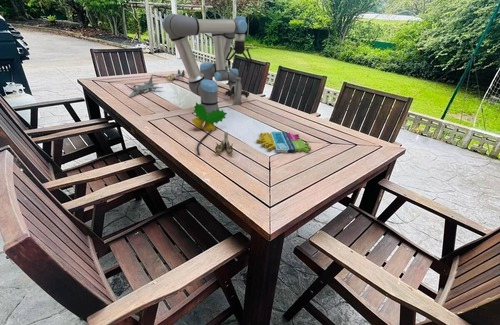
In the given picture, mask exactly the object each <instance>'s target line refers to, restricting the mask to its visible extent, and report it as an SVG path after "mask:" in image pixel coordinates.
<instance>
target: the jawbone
mask: <svg viewBox="0 0 500 325" xmlns="http://www.w3.org/2000/svg"><path fill="white" fill-rule="evenodd" d="M223 135H224V136H223V140H222V139H221V142H220V144H218V142H215V144H216V146H215V148H214V149H215V152H214V154H215V155H217V156H218V155H220V153H221V152H223V151H224V150H226V152H227V153H228V155H229V156H233V155H234V154H233V153H234V148H233V144H234V143H230V140H228V139H229V138H228V137H229V136H228V135H229V133H228V131H226V132H224V134H223Z"/></svg>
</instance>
